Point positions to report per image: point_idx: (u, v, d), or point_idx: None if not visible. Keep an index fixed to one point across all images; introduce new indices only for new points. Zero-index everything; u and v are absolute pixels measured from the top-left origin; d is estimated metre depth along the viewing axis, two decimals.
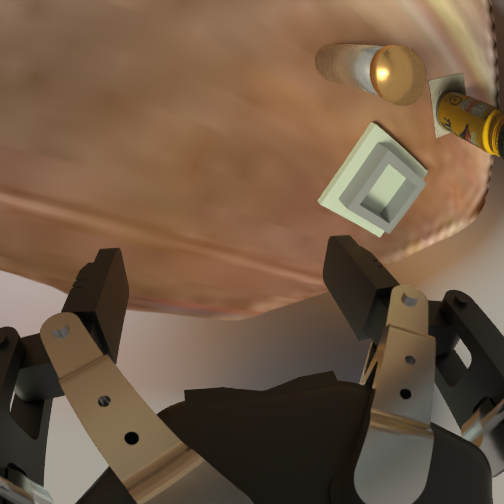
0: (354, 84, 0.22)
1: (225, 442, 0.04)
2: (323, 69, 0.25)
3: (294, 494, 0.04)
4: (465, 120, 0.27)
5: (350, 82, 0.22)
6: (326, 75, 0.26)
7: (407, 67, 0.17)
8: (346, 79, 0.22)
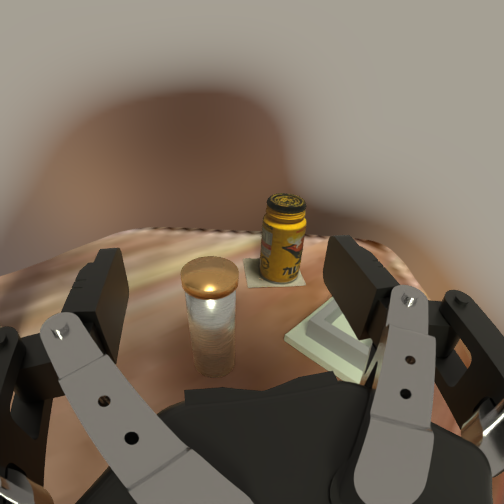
0: (224, 329, 0.26)
1: (225, 442, 0.04)
2: (214, 367, 0.29)
3: (294, 494, 0.04)
4: (279, 250, 0.41)
5: (222, 333, 0.26)
6: (222, 366, 0.29)
7: (203, 267, 0.26)
8: (219, 337, 0.26)
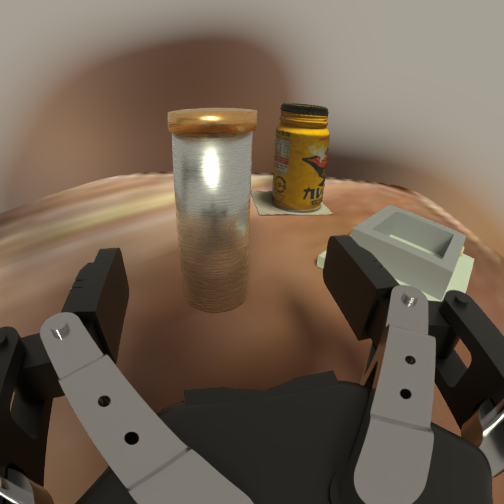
0: (233, 205, 0.16)
1: (225, 442, 0.04)
2: (216, 289, 0.18)
3: (294, 494, 0.04)
4: (298, 163, 0.31)
5: (230, 214, 0.16)
6: (228, 288, 0.19)
7: (202, 110, 0.15)
8: (225, 222, 0.16)
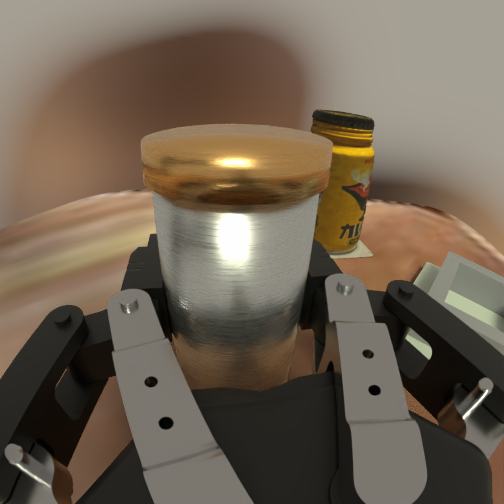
0: (278, 330, 0.08)
1: (225, 442, 0.04)
2: None
3: (294, 494, 0.04)
4: (337, 192, 0.23)
5: (272, 345, 0.08)
6: None
7: (215, 130, 0.08)
8: (262, 357, 0.09)
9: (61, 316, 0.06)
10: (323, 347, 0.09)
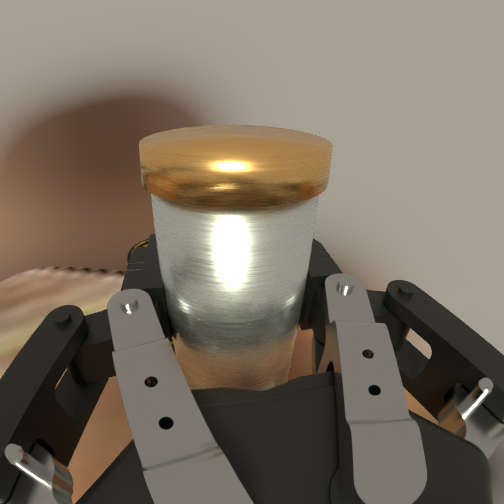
0: (278, 332, 0.08)
1: (225, 442, 0.04)
2: None
3: (294, 494, 0.04)
4: None
5: (272, 346, 0.08)
6: None
7: (214, 132, 0.08)
8: (262, 359, 0.08)
9: (61, 316, 0.06)
10: (323, 347, 0.09)
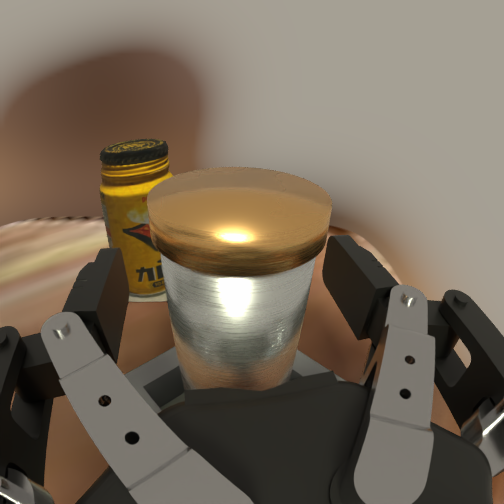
0: (276, 367, 0.09)
1: (225, 442, 0.04)
2: None
3: (294, 494, 0.04)
4: (120, 236, 0.21)
5: (271, 379, 0.09)
6: None
7: (218, 183, 0.08)
8: (262, 389, 0.09)
9: (0, 338, 0.05)
10: None
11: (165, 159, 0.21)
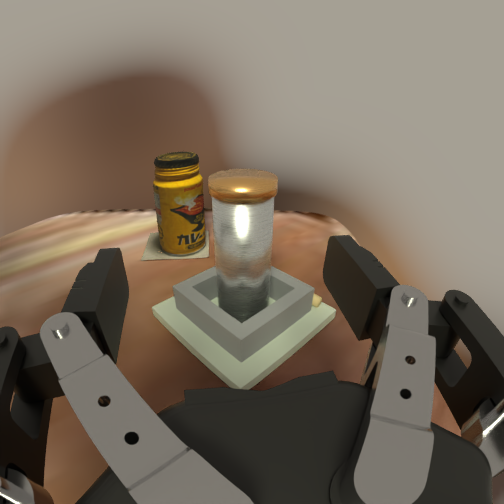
0: (260, 251, 0.22)
1: (225, 442, 0.04)
2: (246, 311, 0.24)
3: (294, 494, 0.04)
4: (168, 213, 0.34)
5: (258, 258, 0.22)
6: (255, 310, 0.24)
7: (234, 175, 0.21)
8: (255, 264, 0.22)
9: None
10: None
11: (197, 165, 0.34)
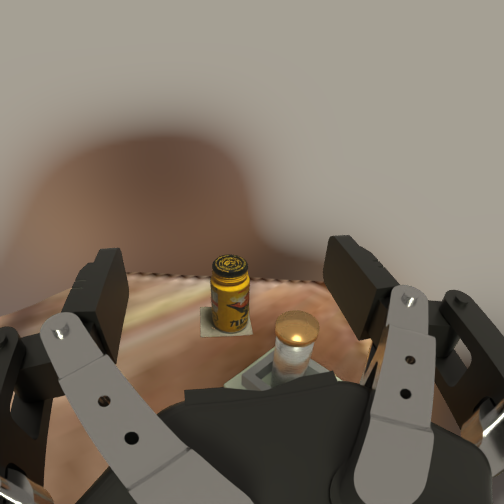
0: (305, 364, 0.33)
1: (225, 442, 0.04)
2: None
3: (294, 494, 0.04)
4: (224, 307, 0.45)
5: (303, 367, 0.34)
6: None
7: (291, 321, 0.33)
8: (300, 370, 0.34)
9: None
10: None
11: (247, 271, 0.45)
